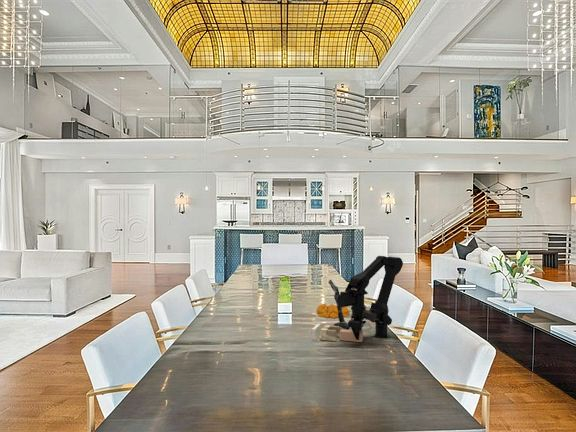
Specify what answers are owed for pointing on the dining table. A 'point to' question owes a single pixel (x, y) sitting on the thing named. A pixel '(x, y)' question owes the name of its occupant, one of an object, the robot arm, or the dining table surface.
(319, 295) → the dining table surface
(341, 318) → the statue
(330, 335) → the block
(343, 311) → the decorative ornament
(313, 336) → the backstop
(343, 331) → the peg
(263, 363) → the dining table surface
